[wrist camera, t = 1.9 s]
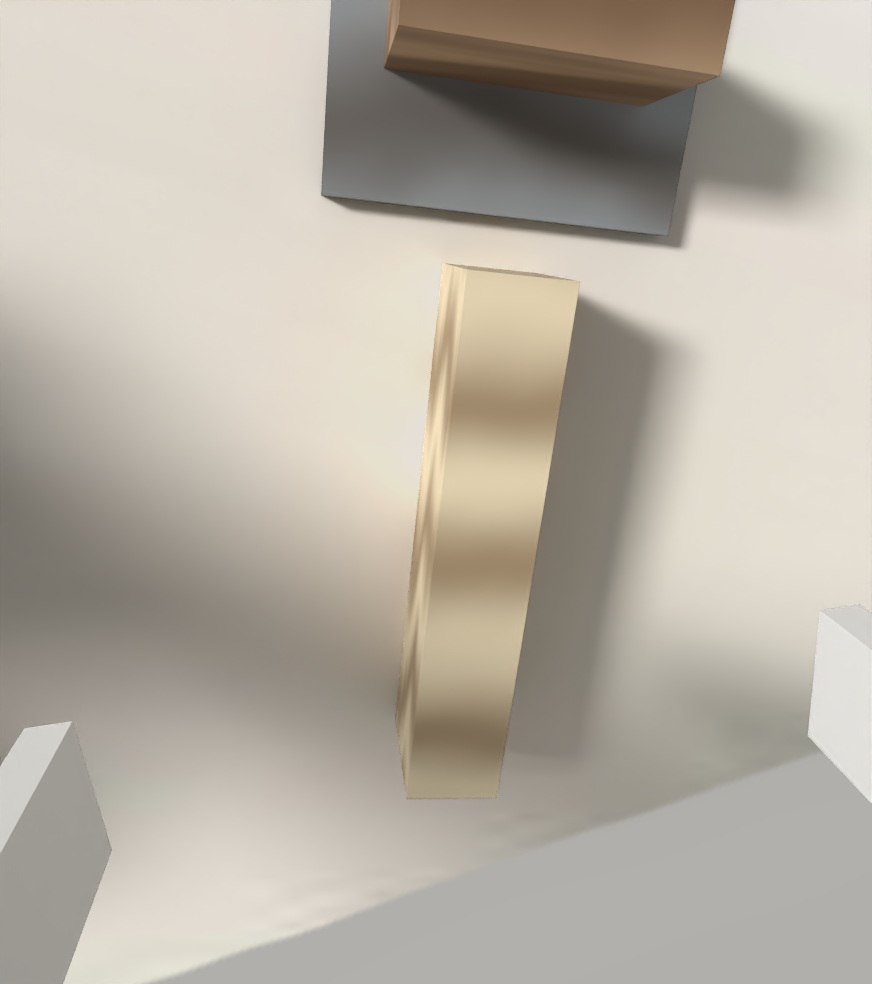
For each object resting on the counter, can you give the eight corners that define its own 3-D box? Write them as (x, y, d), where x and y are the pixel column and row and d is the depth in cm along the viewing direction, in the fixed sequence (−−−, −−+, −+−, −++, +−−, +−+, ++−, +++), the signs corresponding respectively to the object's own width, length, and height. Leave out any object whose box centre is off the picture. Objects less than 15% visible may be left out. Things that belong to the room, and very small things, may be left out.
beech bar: (472, 714, 38) (496, 798, 33) (394, 714, 38) (406, 799, 32) (534, 272, 31) (580, 281, 26) (441, 262, 31) (467, 269, 25)
